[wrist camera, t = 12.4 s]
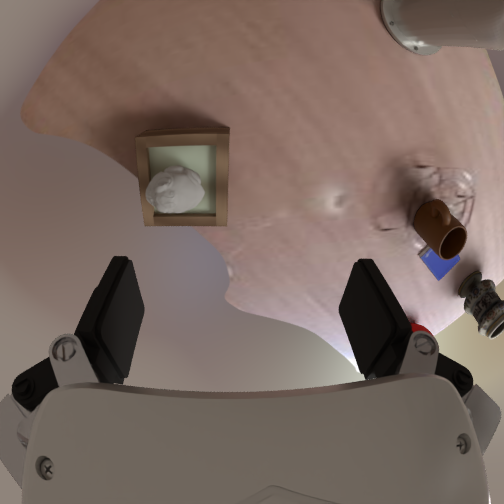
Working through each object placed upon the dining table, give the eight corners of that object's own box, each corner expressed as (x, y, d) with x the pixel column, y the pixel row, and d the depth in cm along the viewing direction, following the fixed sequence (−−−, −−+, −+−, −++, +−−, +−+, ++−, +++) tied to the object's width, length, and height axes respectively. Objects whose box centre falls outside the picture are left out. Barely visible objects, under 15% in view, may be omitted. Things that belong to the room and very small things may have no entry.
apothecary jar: (449, 294, 60) (480, 342, 45) (476, 262, 54) (512, 307, 39) (463, 303, 63) (490, 346, 49) (487, 275, 57) (518, 316, 43)
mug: (401, 194, 42) (430, 220, 34) (431, 175, 40) (463, 197, 32) (416, 240, 48) (440, 268, 40) (443, 221, 46) (469, 247, 38)
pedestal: (146, 130, 34) (134, 137, 30) (229, 127, 35) (229, 133, 31) (153, 210, 41) (144, 226, 37) (227, 209, 42) (227, 226, 38)
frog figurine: (156, 157, 33) (140, 174, 27) (209, 159, 33) (203, 176, 28) (157, 199, 36) (143, 223, 30) (206, 201, 37) (201, 226, 31)
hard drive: (420, 258, 50) (438, 281, 54) (446, 232, 46) (460, 259, 51) (417, 253, 51) (435, 277, 56) (442, 228, 47) (457, 255, 52)
